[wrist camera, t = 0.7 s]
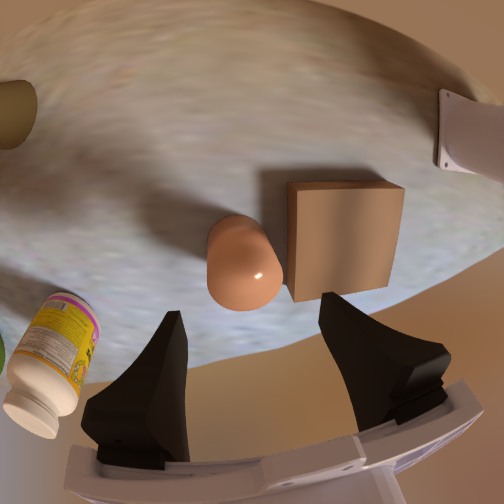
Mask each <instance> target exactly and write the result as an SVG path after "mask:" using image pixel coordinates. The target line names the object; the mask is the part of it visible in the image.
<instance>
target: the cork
mask: <svg viewBox="0 0 504 504" xmlns="http://www.w3.org/2000/svg"><path fill="white" fill-rule="evenodd" d="M36 113H37V96H36V92H35V89H34V88H33V86H32V85H31V83H29V82H27V81H25V80H17V81H10V82H3V83H0V150H2V149H12V148H15V147H17V146H19V145H20V144H21V143H22V142H23V141H25V139H26V138H27V136H28V135H29V133H30V132H31V129H32V127H33V124H34V122H35V118H36Z"/></svg>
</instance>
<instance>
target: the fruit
mask: <svg viewBox="0 0 504 504" xmlns="http://www.w3.org/2000/svg"><path fill="white" fill-rule="evenodd" d="M4 362H5V347H4V342H3V340H2V337H1V335H0V374H1V372H2V370H3V366H4Z"/></svg>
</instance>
